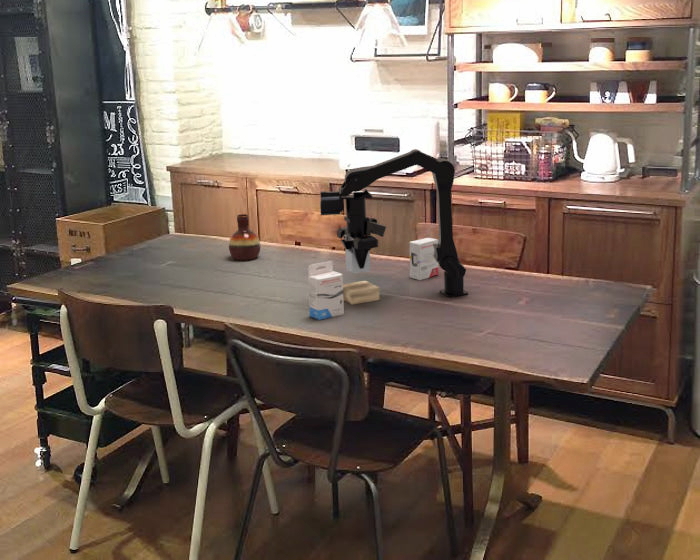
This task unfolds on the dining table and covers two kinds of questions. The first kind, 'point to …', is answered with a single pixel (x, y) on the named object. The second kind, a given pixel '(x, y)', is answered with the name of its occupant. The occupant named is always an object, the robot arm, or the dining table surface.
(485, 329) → the dining table surface
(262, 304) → the dining table surface
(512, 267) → the dining table surface
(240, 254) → the vase
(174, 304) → the dining table surface
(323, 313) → the ink box
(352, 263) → the gray paneled cube
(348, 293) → the beige square block
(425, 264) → the ink box
